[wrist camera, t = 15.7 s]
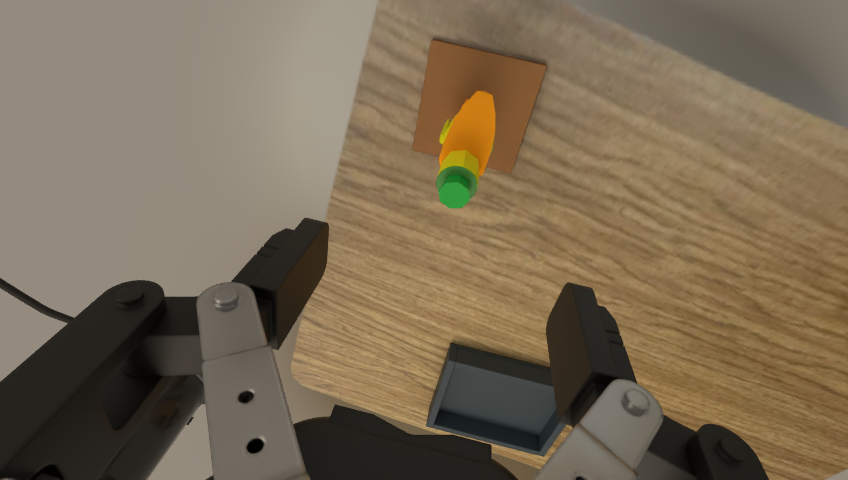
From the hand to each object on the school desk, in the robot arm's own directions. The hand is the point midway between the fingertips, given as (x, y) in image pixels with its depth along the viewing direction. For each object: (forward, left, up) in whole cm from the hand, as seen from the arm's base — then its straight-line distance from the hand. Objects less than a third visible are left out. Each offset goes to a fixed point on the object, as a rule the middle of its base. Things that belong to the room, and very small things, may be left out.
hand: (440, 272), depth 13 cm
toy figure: (0, 0, -19) cm, 19 cm away
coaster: (0, 0, -20) cm, 20 cm away
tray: (+11, -31, -20) cm, 38 cm away
